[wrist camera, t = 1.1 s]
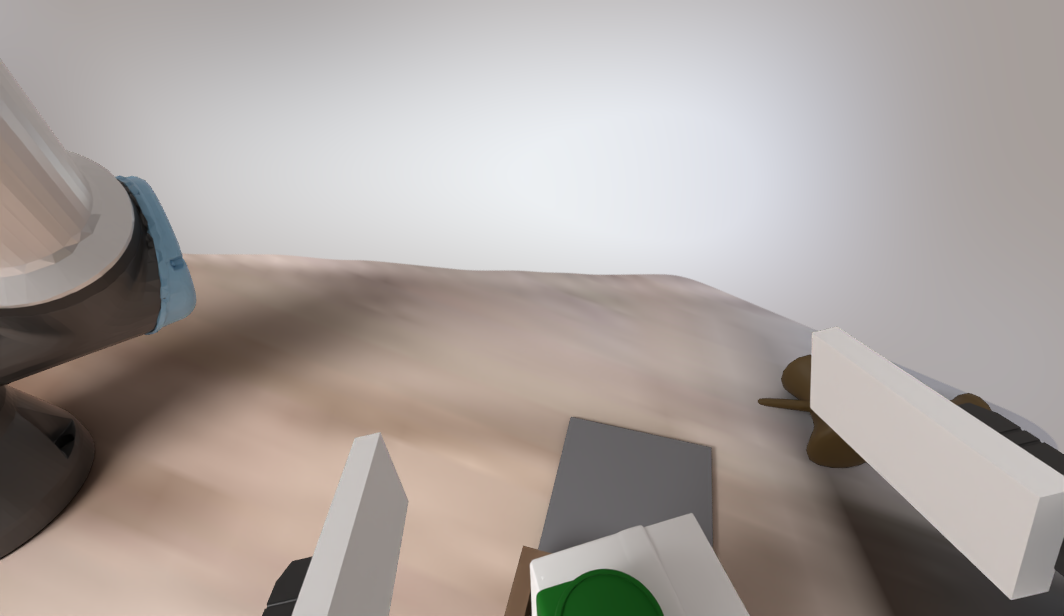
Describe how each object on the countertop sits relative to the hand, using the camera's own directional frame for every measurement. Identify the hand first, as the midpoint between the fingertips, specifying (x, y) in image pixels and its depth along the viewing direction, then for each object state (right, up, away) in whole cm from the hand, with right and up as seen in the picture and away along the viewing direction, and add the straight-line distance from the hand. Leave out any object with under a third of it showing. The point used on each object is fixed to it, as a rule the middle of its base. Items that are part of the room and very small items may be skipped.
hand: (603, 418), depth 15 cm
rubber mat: (+6, -13, +27) cm, 31 cm away
